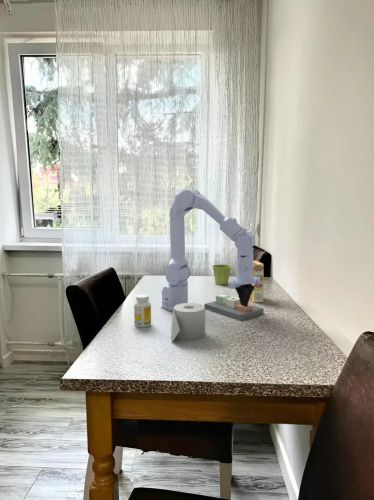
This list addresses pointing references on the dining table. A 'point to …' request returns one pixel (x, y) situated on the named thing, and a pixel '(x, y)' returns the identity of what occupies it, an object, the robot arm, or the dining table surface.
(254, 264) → the candy box
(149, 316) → the supplement bottle
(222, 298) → the key sage
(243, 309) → the key peach
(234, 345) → the dining table surface
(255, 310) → the keypad
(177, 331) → the toilet tissue
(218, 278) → the plant pot
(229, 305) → the key ivory
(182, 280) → the robot arm
